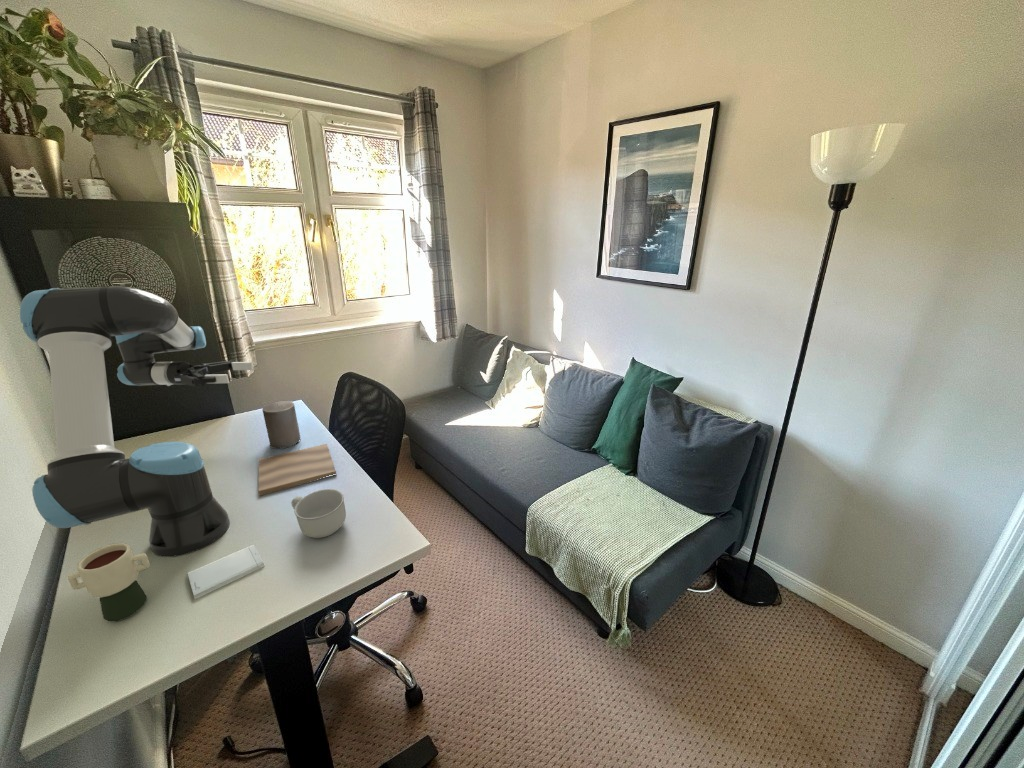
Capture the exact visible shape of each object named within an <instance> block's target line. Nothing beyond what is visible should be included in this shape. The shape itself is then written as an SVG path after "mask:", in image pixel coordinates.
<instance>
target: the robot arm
mask: <svg viewBox="0 0 1024 768" xmlns="http://www.w3.org/2000/svg"><path fill="white" fill-rule="evenodd" d="M19 318H20V319H19V320H20V322H21V324H22V329H23V332H24V333H25V335H26V336H27V337H28V339H29V340H31V341H33V342H34V343H37V345H38V347H39V348H41V349H42V350H45V351H46V352H48V359H49V369H50V370H49V371H50V381H51V393H52V396H51V397H52V405H53V416H54V429H55V431H54V432H55V439H56V440H55V441H56V442H55V443H56V454H57V455H56V456H55V457H54V458H53V459H51V460H49V462H48V463H47V465H46V466H47V467H46V468H47V474H42V475H40V476H38V477H37V478H36V479H35V480H34V482H33V485H32V487H31V488H32V490H31V491H32V497H33V501H34V502H33V503H34V505H35V507H36V510H37V511H38V512H39V515H40V516H41V517H42V518H43V519H44V521H45V522H46V523H47V524H49V525H50V526H53V527H55V528H58V529H68V528H73V527H78V526H82V525H86V526H87V525H91V524H92V523H94V522H97V521H98V522H99V521H103V520H107V519H110V518H111V519H112V518H115V517H118V516H123V515H127V514H131V513H135V512H138V511H143V510H146V509H147V510H148V512H149V515H150V518H151V522H150V531H149V538H148V542H149V546H150V549H151V551H152V553H153V554H154V555H155V556H159V557H166V558H167V557H168V558H170V557H178V556H183V555H187V554H190V553H193V552H196V551H198V550H200V549H203V548H206V547H207V546H208V545H209V546H210V544H212V543H214V542H215V541H217V540H218V539H219V538H221V537H222V536H223V535H224V534H225V533H226V532H227V530H228V528H229V527H230V522H231V521H230V518H229V514H228V513H227V511H226V510H225V508H224V507H223V506H222V505H221V504H220V503H219V501H217V499H216V498H215V497H214V495H213V491H212V489H211V486H210V485H211V484H210V482H209V479H208V475H207V472H206V467H205V461H204V460H203V457H202V456H201V454H200V451H199V449H198V448H197V446H195V445H193V444H192V443H189V442H188V443H187V442H184V441H163V442H156V443H153V444H149V445H147V446H142V447H140V448H138V449H136V450H134V451H133V452H132V453H131V454H130V455H129V458H126V454H125V452H123V451H121V450H119V449H117V448H116V447H115V441H114V440H115V439H114V433H113V422H112V414H111V406H110V398H109V388H108V380H107V371H106V361H105V354H104V353H105V351H107V350H108V349H109V348H111V347H112V337H115V340H116V341H115V342H116V343H115V344H116V345H117V347H118V349H119V352H120V355H121V357H122V361H123V362H122V363H121V364H120V365H119V366H118V367H117V369H116V370H117V373H116V376H117V379H118V380H119V381H120V382H121V383H122V384H125V385H126V386H138V387H143V386H162V385H165V386H167V387H170V386H172V385H179V386H181V385H187V386H190V387H191V386H192V387H199V386H200V387H202V388H203V387H206V386H207V384H208V385H209V384H211V385H213V384H215V385H216V384H230V379H229V374H226V373H225V374H219V373H220V372H226V371H230V370H231V371H253V370H254V364H253V361H236V360H234V359H230V360H225V361H224V360H223V361H217V362H209V363H208V362H207V363H205V362H203V363H200V365H199V364H198V365H192V364H190V363H189V362H188V361H156V359H155V354H162V353H171V352H181V351H191V350H193V351H195V350H198V349H203V348H205V347H206V346H207V340H206V334H205V332H204V329H203V327H201V326H199V325H197V326H193V325H191V326H188V325H187V324H186V323H185V322H184V321H183V320H182V319H181V318H180V317H179V313H178V311H177V309H176V307H175V306H174V305H173V304H172V303H170V302H169V301H168V300H167V299H165V298H164V297H161V296H160V295H157V294H155V293H152V292H149V291H147V290H142V289H139V288H137V287H136V288H135V287H129V286H120V285H110V286H94V287H93V286H91V287H75V288H59V287H53V288H49V289H39V290H34V291H31V292H29V293H28V294H26V295H24V297H23V299H22V300H21V303H20V308H19ZM215 373H218V374H215Z"/></svg>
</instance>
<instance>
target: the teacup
mask: <svg viewBox="0 0 1024 768" xmlns="http://www.w3.org/2000/svg"><path fill="white" fill-rule="evenodd" d="M344 499H345V497H344V494H343V493H342V491H340V490H337V489H332V488H325V489H324V488H323V489H320V490H316V491H313V492H310V493H309V494H307V495H305V496H304V497H301V496H299V495H298V496H295V497H293V499H292V500H291V502H290V503H291V507H292V508H293V511H294V515H295V516H296V521H297V524H298V526H299V529H300V531H301V532H302V534H304V535H305V536H307V537H308V538H309V537H310V538H313V539H314V538H318V539H319V538H320V539H321V538H327V537H329V536H331V535H333V534H335V533H336V532H337V531H339V529H340V528H341V527H342V526H343V525H344V523H345V521H346V518H347V517H346V516H347V512H346V505H345V500H344Z"/></svg>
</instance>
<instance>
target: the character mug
mask: <svg viewBox="0 0 1024 768" xmlns="http://www.w3.org/2000/svg"><path fill="white" fill-rule="evenodd" d="M140 560H141V563H142V564H139V565H138V563H137V561H140ZM149 567H151V563H150V561H149V557H148V556H147V554H146V553H139V554H136V555H134V553H133V551H132V547H131V546H130V545H129V544H127V543H124V542H116V543H112V544H107V545H105V546H102V547H100V548H98V549H95V550H94V551H92V552H90V553H88V554H87V555H86V556H84V557H83V558H82V559H81V560H80V561H79V562H78V564H77V567H76V569H77V571H76V572H73V573H71V574H69V575H67V580H68V582H69V584H70V587H71V589H73V590H80V589H83V588H85V589H86V592H87V593H88V594H89V595H91V596H92V597H93V598H99V603H100V609H101V612H102V613H101V614H102V617H103V620H105V621H107V622H108V623H109V622H110V623H113V622H114V623H115V622H116V623H118V622H120V621H122V620H126V619H128V618H129V617H132V615H134V614H137V612H138V611H140V609H141V608H143V607H144V605H145V604H146V603H147V601H148V596H147V594H146V592H145V590H144V589H143V588H142V586H141V585H140V583H139V582H138V581H137V578H138V576H139V574H140V571H144V570H146V569H149ZM78 578H81V582H79V581H78Z"/></svg>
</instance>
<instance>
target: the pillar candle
mask: <svg viewBox="0 0 1024 768" xmlns="http://www.w3.org/2000/svg"><path fill="white" fill-rule="evenodd" d="M262 414H263V418H264V424H265V428H266V433H267V437H268V441H269V446H270V447H271V448H273V449H280V450H281V449H286V448H290V446H291V447H293V446H295V445H297V444H298V443H297V442H298V441H299V440H300V441H301V439H300V438H301V433H300V428H299V423H298V417H297V412H296V406H295V403H294V402H293V401H291V400H290V401H288V400H283V401H282V400H280V401H276V402H271V403H268V404H266V405H265V406H263V407H262ZM296 443H297V444H296ZM294 444H295V445H294ZM292 445H293V446H292Z"/></svg>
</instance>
